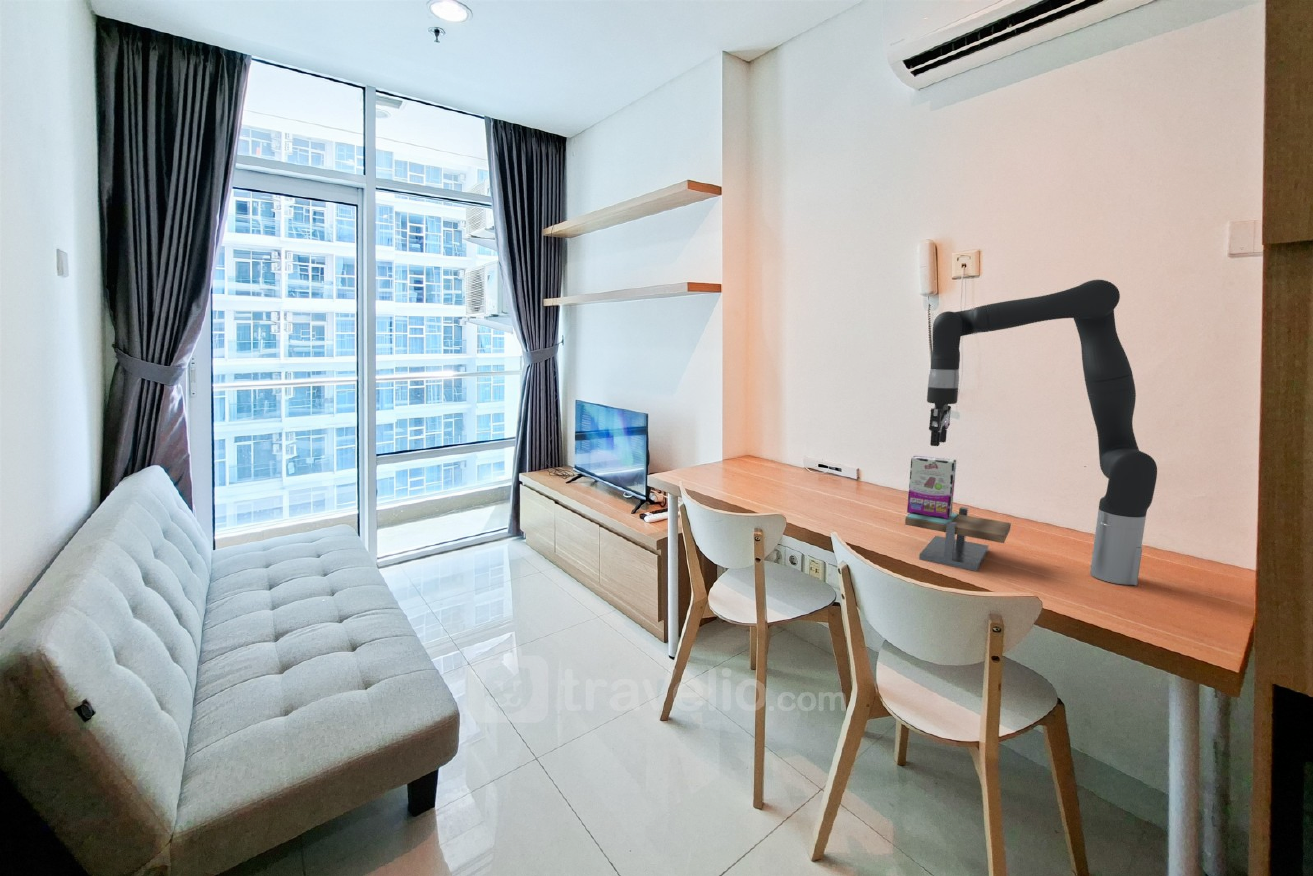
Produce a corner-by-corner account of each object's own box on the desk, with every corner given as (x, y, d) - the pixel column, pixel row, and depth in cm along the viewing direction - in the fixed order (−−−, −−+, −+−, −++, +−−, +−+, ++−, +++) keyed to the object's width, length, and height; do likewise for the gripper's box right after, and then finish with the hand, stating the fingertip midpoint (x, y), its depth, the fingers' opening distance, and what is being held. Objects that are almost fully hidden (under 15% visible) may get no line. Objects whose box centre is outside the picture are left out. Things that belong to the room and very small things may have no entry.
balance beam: (1010, 529, 157) (1011, 521, 156) (1003, 543, 145) (1004, 535, 144) (917, 513, 171) (918, 505, 171) (904, 525, 159) (905, 517, 159)
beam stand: (988, 550, 163) (992, 511, 161) (976, 571, 147) (981, 528, 145) (935, 540, 171) (938, 503, 169) (919, 559, 155) (922, 518, 154)
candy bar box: (951, 515, 161) (957, 459, 158) (949, 520, 157) (954, 462, 154) (909, 509, 167) (914, 454, 165) (906, 512, 163) (910, 457, 160)
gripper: (953, 387, 148) (947, 448, 150) (963, 385, 159) (957, 442, 162) (922, 386, 152) (917, 445, 155) (934, 384, 164) (929, 439, 166)
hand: (938, 444), depth 158 cm, fingers open, 8 cm apart
